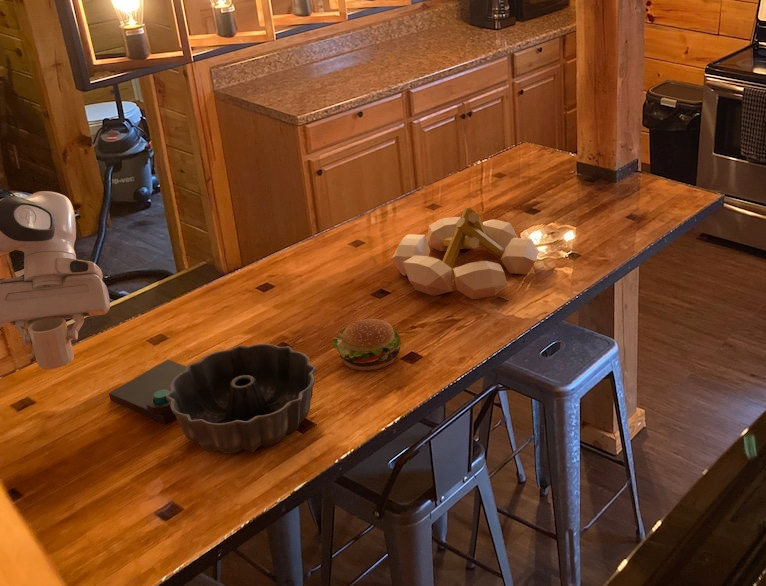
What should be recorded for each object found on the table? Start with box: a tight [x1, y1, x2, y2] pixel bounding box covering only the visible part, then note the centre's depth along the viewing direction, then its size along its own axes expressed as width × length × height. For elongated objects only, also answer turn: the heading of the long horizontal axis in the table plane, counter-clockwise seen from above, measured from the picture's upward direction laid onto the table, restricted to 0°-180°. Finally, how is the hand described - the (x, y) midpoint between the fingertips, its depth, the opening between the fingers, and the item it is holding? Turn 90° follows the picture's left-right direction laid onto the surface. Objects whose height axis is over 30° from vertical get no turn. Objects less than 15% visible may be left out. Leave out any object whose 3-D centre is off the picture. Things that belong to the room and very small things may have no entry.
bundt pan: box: [166, 343, 317, 454], centre depth 180 cm, size 26×26×10 cm
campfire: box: [390, 207, 539, 301], centre depth 238 cm, size 35×34×17 cm
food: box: [331, 318, 402, 372], centre depth 202 cm, size 14×14×8 cm
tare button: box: [154, 390, 169, 404], centre depth 183 cm, size 3×3×2 cm
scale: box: [108, 359, 187, 425], centre depth 190 cm, size 16×14×4 cm
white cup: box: [27, 316, 75, 370], centre depth 181 cm, size 6×6×8 cm
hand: (50, 342), depth 180 cm, fingers closed on white cup, 6 cm apart
